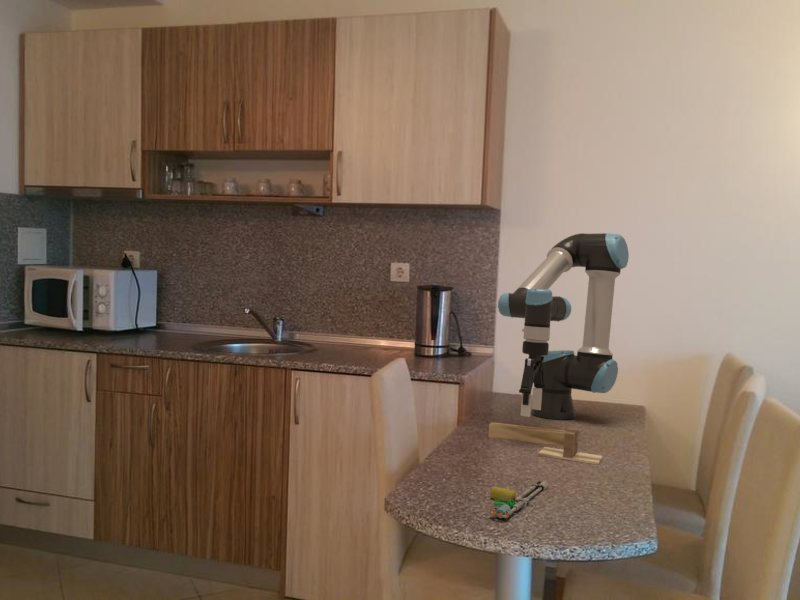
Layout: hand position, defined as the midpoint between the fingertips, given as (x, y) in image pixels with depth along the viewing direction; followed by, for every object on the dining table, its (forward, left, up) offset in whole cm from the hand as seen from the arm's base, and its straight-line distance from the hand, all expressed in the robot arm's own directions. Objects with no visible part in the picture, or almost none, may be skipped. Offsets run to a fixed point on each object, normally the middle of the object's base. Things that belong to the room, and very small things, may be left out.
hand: (530, 412), depth 203 cm
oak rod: (0, 0, -9) cm, 9 cm away
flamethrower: (+57, +11, -9) cm, 58 cm away
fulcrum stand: (+12, +14, -8) cm, 20 cm away
